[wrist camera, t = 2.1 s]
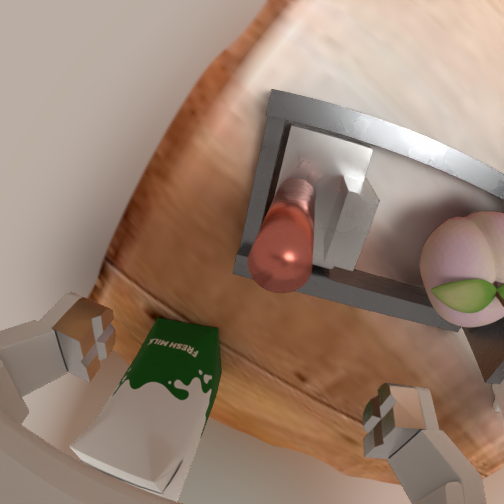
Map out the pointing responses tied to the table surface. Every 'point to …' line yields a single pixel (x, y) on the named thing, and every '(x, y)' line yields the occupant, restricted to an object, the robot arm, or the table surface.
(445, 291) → the decorative fruit
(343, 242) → the handle
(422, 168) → the table surface
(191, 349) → the milk carton
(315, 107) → the press base
